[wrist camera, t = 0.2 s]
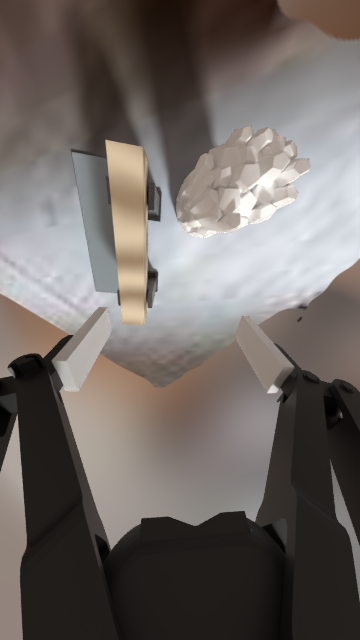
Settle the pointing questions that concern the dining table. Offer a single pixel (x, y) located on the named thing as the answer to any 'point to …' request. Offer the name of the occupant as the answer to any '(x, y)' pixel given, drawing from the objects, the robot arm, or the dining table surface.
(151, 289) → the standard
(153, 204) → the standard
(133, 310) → the rail
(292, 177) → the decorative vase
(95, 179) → the mat
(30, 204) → the dining table surface
